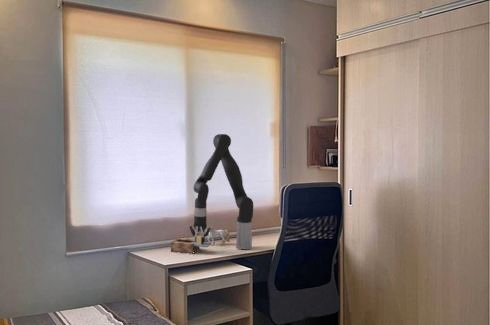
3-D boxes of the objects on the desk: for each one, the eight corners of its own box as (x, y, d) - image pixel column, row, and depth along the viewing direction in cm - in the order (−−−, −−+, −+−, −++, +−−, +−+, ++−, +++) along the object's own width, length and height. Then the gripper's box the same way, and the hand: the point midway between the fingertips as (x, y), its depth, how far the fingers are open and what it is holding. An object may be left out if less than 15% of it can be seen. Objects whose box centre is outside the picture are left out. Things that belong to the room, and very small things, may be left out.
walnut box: (199, 249, 310) (199, 239, 310) (192, 254, 299) (192, 244, 298) (178, 247, 314) (178, 237, 313) (170, 251, 302) (170, 242, 302)
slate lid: (211, 244, 306) (211, 235, 305) (206, 247, 298) (206, 238, 297) (193, 242, 309) (193, 233, 308) (188, 245, 301) (188, 236, 300)
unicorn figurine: (198, 245, 320) (199, 224, 319) (225, 242, 330) (226, 222, 329) (203, 247, 314) (203, 227, 313) (230, 244, 324) (231, 224, 323)
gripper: (213, 214, 304) (212, 242, 305) (191, 212, 307) (191, 240, 309) (209, 217, 296) (208, 245, 298) (187, 215, 300) (186, 243, 302)
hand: (199, 242), depth 303 cm, fingers closed on slate lid, 3 cm apart
